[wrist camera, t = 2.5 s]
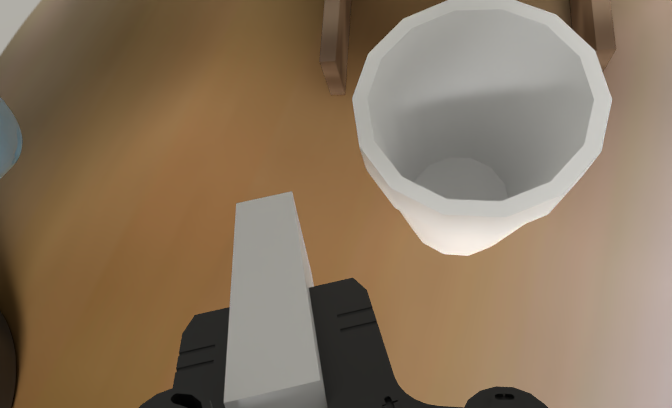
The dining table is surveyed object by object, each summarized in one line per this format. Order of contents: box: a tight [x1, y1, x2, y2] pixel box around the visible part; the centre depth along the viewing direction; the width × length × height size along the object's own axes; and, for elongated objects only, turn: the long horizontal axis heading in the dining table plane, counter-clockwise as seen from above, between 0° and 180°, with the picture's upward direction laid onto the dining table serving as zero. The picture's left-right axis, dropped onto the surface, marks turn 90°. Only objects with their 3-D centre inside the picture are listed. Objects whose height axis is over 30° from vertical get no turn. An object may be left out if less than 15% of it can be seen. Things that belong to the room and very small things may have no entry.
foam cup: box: [352, 0, 612, 256], centre depth 25 cm, size 10×9×13 cm
